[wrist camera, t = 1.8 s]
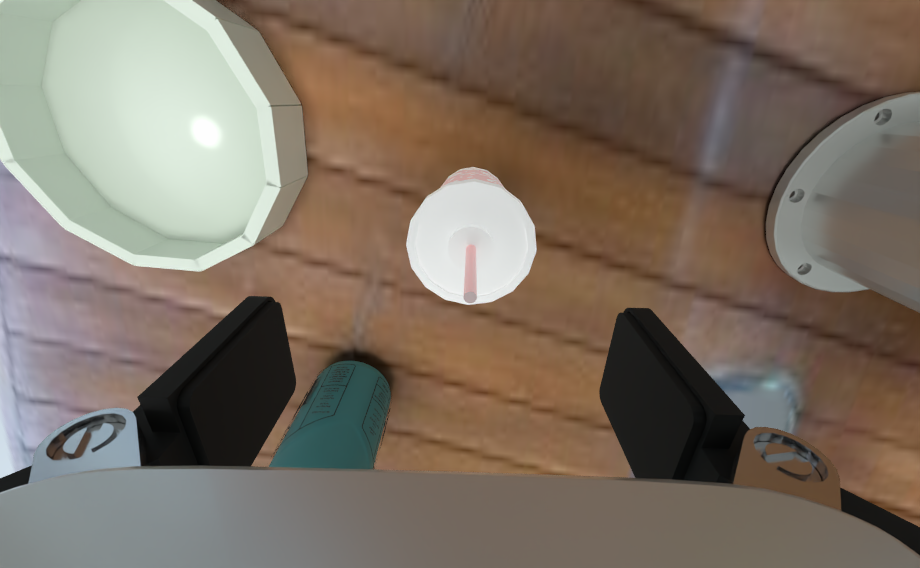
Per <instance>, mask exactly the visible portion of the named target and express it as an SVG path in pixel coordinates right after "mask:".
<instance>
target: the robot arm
mask: <svg viewBox="0 0 920 568" xmlns="http://www.w3.org/2000/svg"><path fill="white" fill-rule="evenodd" d="M766 240H767V244H768V247H769V251H770V254H771V256H772V257H773V259H774V261H775V262H776V264H777V265H778V266H779V267H780V268H781V269H782V270H783V271H784V272H785V273H786V274H787V275H789V276H790V277H792V278H794V279H795V280H797V281H799V282H800V283H802V284H804V285H807V286H809V287H812V288H814V289H817V290H823V291H828V292H854V291H861V290H867V289H871V290H873V291H875V292H877V293H879V294H881V295H883V296H885V297H887V298H890V299H892V300H894V301H896V302H898V303H900V304H902V305H904V306H906V307H908V308H910V309H912V310H915V311H917V312H919V313H920V92H907V93H902V94H897V95H892V96H888V97H884V98H881V99H879V100H876V101H873V102H871V103H868V104H865V105H863V106H861V107H859V108H857V109H855V110H854V111H852V112H850V113H848V114H846V115H844V116H843V117H841V118H839V119H838V120H837V121H835V122H834V123H832V124H831V125H830V126H828V127H827V128H826V129H824V130H823V131H822V132H820V133H819V134H818V135H817V136H816V137H815V138H814V139H813V140H812V141H811V142H810V143H809V144H808V145H806V146H805V147H804V148H803V149H802V150H801V152H800V153H799V154H798V155H797V157H796V158H795V159H794V160H793V162H792V163H791V164H790V165H789V167H788V168H787V169H786V171H785V173H784V175H783V176H782V178H781V180H780V181H779V183H778V185H777V187H776V189H775V191H774V194H773V197H772V199H771V202H770V204H769V209H768V214H767V219H766ZM295 386H296V378H295V373H294V368H293V362H292V357H291V352H290V347H289V342H288V337H287V332H286V327H285V322H284V317H283V312H282V307H281V305H280V303H279V302H275V300H274V299H273V298H272V297H260V296H249V297H247V298H246V299H245V300H244V301H243V302H241V303H240V304H239V305H238V306H237V307H236V308H235V309H234V310H233V311H232V312H230V313H229V314H228V315H227V316H226V317H225V318H224V319H223V320H222V321H221V322H219V323H218V324H217V325H216V326H215V327H214V328H213V329H212V330H211V331H210V332H209V333H207V334H206V335H205V336H204V337H203V338H202V339H201V340H200V341H199V342H198V343H196V344H195V345H194V346H193V347H192V348H191V349H190V350H189V351H188V352H187V353H185V354H184V355H183V356H182V357H181V358H180V359H179V360H178V361H177V362H176V363H174V364H173V365H172V366H171V367H170V368H169V369H168V370H167V371H166V372H165V373H163V374H162V375H161V376H160V377H159V378H158V379H157V380H156V381H155V382H154V383H152V384H151V385H150V386H149V387H148V388H147V389H146V390H145V391H144V392H143V393H142V394H140V395H139V396H138V397H137V398H138V400H139V402H140V404H141V405H140V406H139V407H138V408H137V409H136V410H135V411H134V412H132V411H130V410H128V409H123V408H110V409H103V410H99V411H95V412H92V413H88V414H86V415H83V416H81V417H79V418H76V419H74V420H72V421H70V422H68V423H66V424H65V425H63V426H61V427H59V428H58V429H57V430H55V431H54V432H53V433H51V434H50V435H48V436H47V437H46V438H45V439H44V440H43V441H42V443H41V444H40V445H39V446H38V448H37V450H36V452H35V454H34V457H33V462H32V466H29V467H27V468H25V469H22V470H20V471H17V472H15V473H12V474H10V475H8V476H5V477H3V478H0V568H920V527H918V526H916V525H914V524H912V523H910V522H908V521H906V520H904V519H902V518H900V517H898V516H896V515H894V514H892V513H890V512H888V511H886V510H884V509H882V508H880V507H878V506H876V505H874V504H872V503H870V502H868V501H866V500H864V499H862V498H860V497H858V496H856V495H854V494H852V493H850V492H848V491H846V490H844V489H842V488H840V478H839V475H838V472H837V469H836V468H835V466H834V465H833V464H832V462H831V461H830V460H829V459H828V458H827V457H826V456H825V455H824V454H823V453H822V452H821V451H819V450H818V449H817V448H815V447H814V446H812V445H811V444H809V443H808V442H806V441H805V440H803V439H801V438H799V437H796V436H794V435H792V434H790V433H787V432H784V431H781V430H778V429H774V428H768V427H755V428H753V429H749V427H748V426H747V425H746V424H745V423H744V422H743V421H742V420H743V418H744V416H745V415H744V414H743V413H742V412H741V411H740V409H739V408H738V407H737V406H736V405H735V404H734V403H733V401H732V400H731V399H730V398H729V397H728V396H727V395H726V394H725V392H724V391H723V390H722V389H721V388H720V387H719V386H718V385H717V383H716V382H715V381H714V380H713V379H712V378H711V377H710V376H709V374H708V373H707V372H706V371H705V370H704V369H703V368H702V367H701V365H700V364H699V363H698V362H697V361H696V360H695V359H694V358H693V356H692V355H691V354H690V353H689V352H688V351H687V350H686V349H685V347H684V346H683V345H682V344H681V343H680V342H679V341H678V340H677V338H676V337H675V336H674V335H673V334H672V333H671V332H670V331H669V329H668V328H667V327H666V326H665V325H664V324H663V323H662V322H661V320H660V319H659V318H658V317H657V316H656V315H655V314H654V313H653V311H652V310H650V309H649V308H627V309H625V311H624V313H619V314H618V316H617V319H616V323H615V328H614V332H613V336H612V340H611V344H610V348H609V353H608V357H607V361H606V365H605V369H604V373H603V378H602V382H601V386H600V400H601V403H602V405H603V407H604V409H605V412H606V414H607V416H608V418H609V420H610V423H611V425H612V427H613V429H614V431H615V434H616V436H617V438H618V440H619V443H620V445H621V447H622V449H623V451H624V454H625V456H626V458H627V460H628V462H629V465H630V467H631V469H632V471H633V474H634V476H635V478H624V477H598V476H569V475H540V474H512V473H480V472H447V471H412V470H376V469H336V468H293V467H251V465H252V463H253V462H254V460H255V458H256V456H257V455H258V453H259V451H260V450H261V448H262V446H263V444H264V443H265V441H266V439H267V438H268V436H269V434H270V432H271V431H272V429H273V427H274V426H275V424H276V422H277V420H278V419H279V417H280V415H281V414H282V412H283V410H284V408H285V407H286V405H287V403H288V402H289V400H290V398H291V396H292V395H293V393H294V390H295Z"/></svg>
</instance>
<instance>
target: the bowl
mask: <svg viewBox="0 0 920 568" xmlns="http://www.w3.org/2000/svg"><path fill="white" fill-rule="evenodd" d="M300 105H301V103H300V101H299V99H298V97H297V96H296V94H295V92H294V91H293V89H292V87H291V85H290V84H289V82H288V80H287V79H286V77H285V75H284V74H283V72H282V70H281V68H280V67H279V65H278V63H277V62H276V60H275V58H274V56H273V55H272V53H271V51H270V50H269V48H268V46H267V44H266V43H265V41H264V39H263V38H262V36H261V34H260V33H259V32H258V30H257V29H255V28H254V27H252V26H251V25H250V24H248V23H247V22H245V21H244V20H243V19H241V18H240V17H238V16H237V15H236V14H234V13H233V12H231V11H230V10H229V9H227V8H226V7H224V6H223V5H222V4H220V3H219V2H217V1H216V0H0V159H1V162H4V163H3V164H4V166H5V167H6V168H7V169H8V170H9V171H10V172H11V173H12V174H13V175H14V176H15V177H16V178H17V179H18V180H19V182H20V183H21V184H22V185H23V186H24V187H25V188H26V189H27V190H28V191H29V192H30V193H31V194H32V195H33V196H34V198H35V199H36V200H37V201H38V202H39V203H40V204H41V205H42V206H43V207H44V208H45V209H46V210H47V211H48V212H49V214H50V215H51V216H52V217H53V218H54V219H55V220H56V221H57V222H58V223H59V224H60V225H61V226H62V227H63V228H64V229H66V230H67V231H69V232H71V233H73V234H75V235H77V236H79V237H81V238H83V239H84V240H86V241H88V242H90V243H92V244H94V245H96V246H98V247H100V248H101V249H103V250H105V251H107V252H109V253H111V254H113V255H115V256H117V257H118V258H120V259H122V260H124V261H126V262H128V263H130V264H132V265H135V266H143V267H154V268H166V269H177V270H188V271H203V270H205V269H207V268H209V267H211V266H213V265H215V264H217V263H219V262H221V261H223V260H225V259H227V258H229V257H231V256H233V255H235V254H237V253H239V252H241V251H243V250H245V249H247V248H249V247H251V246H253V245H255V244H256V243H258V242H259V241H261V240H262V239H264V238H265V237H267V236H268V235H270V234H271V233H273V232H274V231H276V230H277V229H279V228H280V227H282V226H283V225H284V223H285V221H286V219H287V217H288V215H289V213H290V211H291V209H292V207H293V205H294V203H295V201H296V199H297V197H298V195H299V193H300V191H301V189H302V187H303V185H304V183H305V181H306V179H307V177H308V176H307V175H308V168H307V157H306V146H305V135H304V123H303V112H302V106H300Z"/></svg>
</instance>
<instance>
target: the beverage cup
mask: <svg viewBox="0 0 920 568" xmlns="http://www.w3.org/2000/svg"><path fill="white" fill-rule="evenodd" d="M406 246H407V251H408V255H409V259H410V263H411V268H412V269H413V270H414V272H415V273H416V275H417V276H418V277H419V279H420V280H421V282H422V283H423V284H424V286H425V287H426V288H428V289H429V290H431V291H433V292H434V293H436V294H437V295H439V296H440V297H442V298H443V299H445V300H449V301H453V302H458V303H462V304H467V305H471V304H479V303H487V302H492V301H494V300H496V299H498V298H500V297H502V296H504V295H506V294H508V293H510V292H512V291H513V290H514V289H515V288H516V287H517V286H518V285H519V284H520V282H521V281H522V280H523V279H524V278H525V277H526V276H527V275H528V273H529V271H530V268H531V265H532V262H533V259H534V256H535V254H536V251H537V250H536V238H535V226H534V224H533V222H532V220H531V219H530V217H529V215H528V213H527V211H526V210H525V208H524V206H523V204H522V202H521V201H520V200H519V199H518V198H516V197H515V196H514V195H512V194H511V193H510V192H508V191H507V190H506V189H505V188H504V186H503V185H502V184H501V182H500V181H499V179H498V178H497V177H495V176H494V175H493V174H491V173H490V172H489V171H487V170H484V169H480V168H476V167H470V168H464V169H460V170H458V171H456V172H455V173H453V174H452V175H450V176H449V177H448V178H447V179H446V181H445V182H444V183H443V185H442V186H441V187H440V189H438V190H436V191H435V192H433V193H432V194H430V195H428V196H427V197H426V198H425V200H424V201H423V203H422V204H421V206H420V207H419V209H418V210H417V212H416V213H415V215H414V216H413V217H412V219H411V221H410V226H409V232H408V237H407V243H406Z"/></svg>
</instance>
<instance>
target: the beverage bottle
mask: <svg viewBox="0 0 920 568" xmlns="http://www.w3.org/2000/svg"><path fill="white" fill-rule="evenodd" d="M322 371H323V370H322ZM317 377H318V378H317ZM317 377H316V378H317V379H316V380H315V379H314V380H315V382H314V384H313V382H312V384H313V386H312V388H311V386H310V388H311V390H310V392H309V393H308V392H307V393H306V395H307V394H308V395H307V397H306V395H305V397H306V399H305V401H304V403H303V404H302V402H303V401H302V402H301V404H302V406H301V404H300V406H301V409H300V410H299V412H298V414H297V416H296V418H295V420H294V421H293V418H294V417H295V415H296V413H297V411H298V410H297V411H296V413H295V415H294V417H293V418H292V422H293V423H292V422H291V423H292V425H289V426H291V427H289V428H290V429H289V428H287V429H289V431H288V432H286V431H285V432H286V435H285V434H283V436H284V435H285V437H284V440H283V439H282V438H281V439H282V440H283V441H282V443H281V442H280V444H281V445H280V447H279V446H278V445H277V446H278V447H279V448H277V449H278V451H277V452H276V454H275V456H273V457H274V458H273V460H272V462H271V463H270V465H269V467H293V468H336V469H375V468H374V462H376V460H375V459H376V455H377V451H378V447H379V443H380V439H381V435H382V431H383V428H384V427H385V423H386V421H385V420H386V418H387V417H386V416H387V414H388V413H387V412H388V408H389V404H390V400H391V396H392V395H391V393H390V392H391V391H390V388H389V384H388V382H387V380H386V379H385V377H384V376H383V375H382V374H381V373H380V372H379V371H378V370H377V369H375V368H374V367H372V366H370V365H368V364H365V363H362V362H358V361H341V362H337V363H334V364H332V365H330V366H329V367H327V368H325V370H324V371H323V372H322V373H321V374H319V376H317ZM312 384H311V385H312ZM305 397H304V398H305ZM303 400H304V399H303ZM300 406H299V408H300ZM299 408H298V409H299ZM389 412H390V409H389ZM388 415H389V414H388ZM387 420H388V418H387ZM386 424H387V423H386ZM385 428H386V427H385ZM384 432H385V430H384ZM383 436H384V433H383ZM382 440H383V438H382ZM381 444H382V442H381ZM277 449H276V450H277ZM274 453H275V452H274ZM274 453H273V454H274ZM271 457H272V456H271Z"/></svg>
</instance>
